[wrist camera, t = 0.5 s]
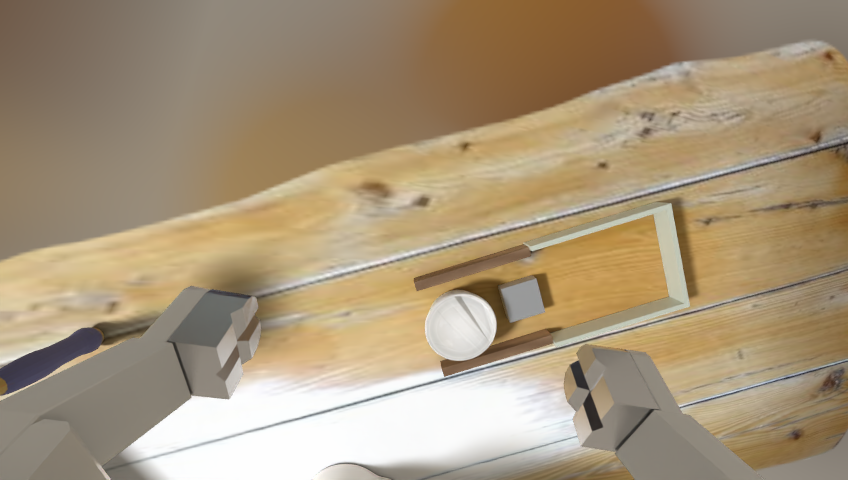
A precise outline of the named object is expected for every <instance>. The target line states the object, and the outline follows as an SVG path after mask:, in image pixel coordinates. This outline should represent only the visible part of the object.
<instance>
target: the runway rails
mask: <svg viewBox="0 0 848 480" xmlns="http://www.w3.org/2000/svg"><path fill="white" fill-rule="evenodd" d="M530 256H531V253H530V249H529V247H528V246H526V245H524V244H523V245H520V246H517V247H514V248H510V249H507V250H504V251H501V252H497V253H494V254H491V255H488V256H484V257H481V258H478V259H475V260H471V261H468V262H465V263H462V264H458V265H455V266H452V267H449V268H445V269H442V270H439V271H436V272H433V273H429V274H426V275H423V276H420V277H416V278H414V283H415V287H416V290H417V291H419V290H422V289H426V288H429V287H432V286H435V285H439V284H442V283H445V282H448V281H452V280H455V279H458V278H461V277H465V276H468V275H471V274H474V273H478V272H481V271H484V270H487V269H491V268H494V267H497V266H500V265H504V264H507V263H510V262H513V261H517V260H520V259H523V258H526V257H530ZM552 343H554V342H553V338H552V335H551V334H550V333H549V332H548V331H547V330H546V329H544V330H541V331H537V332H534V333H531V334H528V335H524V336H521V337H518V338H515V339H511V340H508V341H505V342H502V343H498V344H495V345H492V346H489V348H488V349H487V350H485V351H484V352H483V353H482V354H480V355H479V356H477V357H475V358H472V359H469V360H464V361H455V360H449V359H446V360H443V361H440V362H441V367H442V371H443V374H444V377H445V376H448V375H452V374H455V373H458V372H461V371H465V370H468V369H471V368H474V367H478V366H481V365H484V364H487V363H491V362H494V361H497V360H500V359H504V358H507V357H510V356H513V355H517V354H520V353H523V352H526V351H530V350H533V349H536V348H539V347H543V346H546V345H549V344H552Z"/></svg>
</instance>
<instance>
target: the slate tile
mask: <svg viewBox="0 0 848 480" xmlns="http://www.w3.org/2000/svg"><path fill="white" fill-rule="evenodd" d="M498 288H499V292H500V296H501V299H502V303H503V307H504V310H505V314H506V317H507V319H508V320H509V322H510V323H511V322H515V321H518V320H521V319H524V318H528V317H531V316H534V315H537V314H541V313H544V312H545V310H544V306H543V302H542V298H541V294H540V290H539V286H538V283H537V279H536V278H535V277H534V276H532V275H531V276H527V277H524V278H521V279H518V280H514V281H511V282H508V283H504V284H501V285H498Z"/></svg>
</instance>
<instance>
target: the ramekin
mask: <svg viewBox="0 0 848 480" xmlns="http://www.w3.org/2000/svg"><path fill="white" fill-rule="evenodd" d="M496 330H497V321H496V316H495V313H494V311H493V309H492V308H491V306H490V305H489V304H488V302H487V301H486V300H484V299H483V298H482V297H480V296H478V295H476V294H473V293H470V292H468V291H465V290H452V291H448V292H446V293H444V294H442V295H441V296H439V297H438V298H437V299H436V300H435V301H434V302H433V304H432V306H431V308H430V311H429V313H428V315H427V318H426V322H425V334H426V338H427V341H428V343H429V345H430V346H431V348H432V349H433V350H434V351H435V352H436V353H437V354H439V355H440V356H442V357H444V358H446V359H449V360H455V361H464V360H469V359H472V358H475V357H477V356H479V355H480V354H482V353H483V352H484V351H485V350H487V349H488V348H489V346H490V345H491V343H492V342H493V340H494V337H495V335H496Z"/></svg>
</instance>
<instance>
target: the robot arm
mask: <svg viewBox="0 0 848 480" xmlns="http://www.w3.org/2000/svg"><path fill="white" fill-rule="evenodd" d="M257 309H258V303H257V298H256V297H254V296H249V295H244V294H238V293H232V292H226V291H220V290H214V289H206V288H200V287H195V286H190V287H188V288H186V289H184V290H183V291H182V292H181V293H180V294H179V295H178V296H177V297H176V298H175V300H174V301H173V302H172V303H171V304H170V305H169V306H168V307H167V308H166V310H165V311H164V312H163V313H162V314H161V315H160V316H159V317H158V318H157V320H156V321H155V322H154V323H153V324H152V325H151V326H150V327H149V328H148V330H147V331H146V332H145V333H144V334H143V335H142V336H141V337H140V338H131V339H129V340H126V341H124V342H122V343H120V344H118V345H116V346H114V347H112V348H110V349H108V350H106V351H104V352H101V353H99V354H97V355H95V356H93V357H91V358H89V359H87V360H85V361H83V362H81V363H78V364H76V365H74V366H72V367H70V368H68V369H66V370H64V371H62V372H60V373H58V374H56V375H53V376H51V377H49V378H47V379H45V380H43V381H41V382H39V383H37V384H35V385H33V386H30V387H28V388H26V389H24V390H22V391H20V392H18V393H16V394H14V395H12V396H10V397H8V398H5V399H3V400H1V401H0V480H111V479H110V478H109V476H108V475H107V473H106V472H105V471H104V469H103V468H102V466H103V465H105V464H106V463H107V462H108V461H110V460H111V459H112V458H114V457H115V456H116V455H118V454H119V453H120V452H121V451H123V450H124V449H125V448H127V447H128V446H129V445H131V444H132V443H133V442H134V441H136V440H137V439H138V438H140V437H141V436H142V435H144V434H145V433H146V432H147V431H149V430H150V429H151V428H153V427H154V426H155V425H157V424H158V423H159V422H160V421H162V420H163V419H164V418H166V417H167V416H168V415H170V414H171V413H172V412H173V411H175V410H176V409H177V408H179V407H180V406H181V405H183V404H184V403H185V402H186V401H188V400H189V399H190V398H191V395H192V396H202V397H211V398H221V399H230V398H231V396H232V394H233V392H234V390H235V389H236V387H237V385H238V383H239V381H240V379H241V377H242V376H243V370H242V364H244V363H245V362H247V361H248V360H250V359H251V358H252V357H253V355H254V353H255V351H256V349H257V346H258V343H259V340H260V336H261V322H260V320H259V319H258V318H257V317H256V316H255V315H254V314H255V313H256V311H257ZM576 354H577V356H578V359H579V360H578V361H576V362H574V363H572V364H570V365H569V367H568V369H567V371H566V373H565V379H564V390H565V395H566V399H567V402H568V403H569V404H570V405H571V406H572V407H573V409H574V410H575V411H576V412H575V415H574V417H573V422H574V426H575V429H576V432H577V435H578V439H579V442H580V445H581V446H582V447H589V448H595V449H601V450H607V451H613V452H616V453H615V455H616V456H617V457H618V458H619V460H620V461H621V462H622V463H623V465H624V466H625V467H626V469H627V470H628V471H629V472H630V474H631V475H632V476H633V478H634V479H635V480H765V479H764V478H763V477H761V476H760V475H759V474H758V473H757V472H756V471H754V470H753V469H752V468H751V467H750V466H749V465H747V464H746V463H745V462H744V461H743V460H742V459H740V458H739V457H738V456H737V455H736V454H734V453H733V452H732V451H731V450H730V449H729V448H727V447H726V446H725V445H724V444H723V443H722V442H720V441H719V440H718V439H717V438H716V437H715V436H713V435H712V434H711V433H710V432H709V431H708V430H706V429H705V428H704V427H703V426H702V425H701V424H699V423H698V422H697V421H696V420H695V419H693V418H692V417H691V416H690V415H687V414H683V413H682V412H681V410H680V408H679V406H678V404H677V403H676V401H675V399H674V397H673V396H672V394H671V392H670V390H669V389H668V387H667V385H666V383H665V382H664V380H663V378H662V376H661V375H660V373H659V371H658V369H657V368H656V366H655V364H654V362H653V361H652V359H651V357H650V356H649V355H648V354H646V353H645V352H639V351H632V350H623V349H618V348H611V347H603V346H596V345H588V344H585V345H583V346H581V347H580V349H579V350H578V352H577V353H576ZM312 480H392V479H389V478H385V477H380V476H377V475H376V474H374V473H372V472H371V471H369V470H368V469H366V468H364V467H361V466H358V465H353V464H338V465H333V466H330V467H328V468H325V469H324V470H322V471H320V472H319V473H318V474H316V475H315V476H314V477H313V478H312Z"/></svg>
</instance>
